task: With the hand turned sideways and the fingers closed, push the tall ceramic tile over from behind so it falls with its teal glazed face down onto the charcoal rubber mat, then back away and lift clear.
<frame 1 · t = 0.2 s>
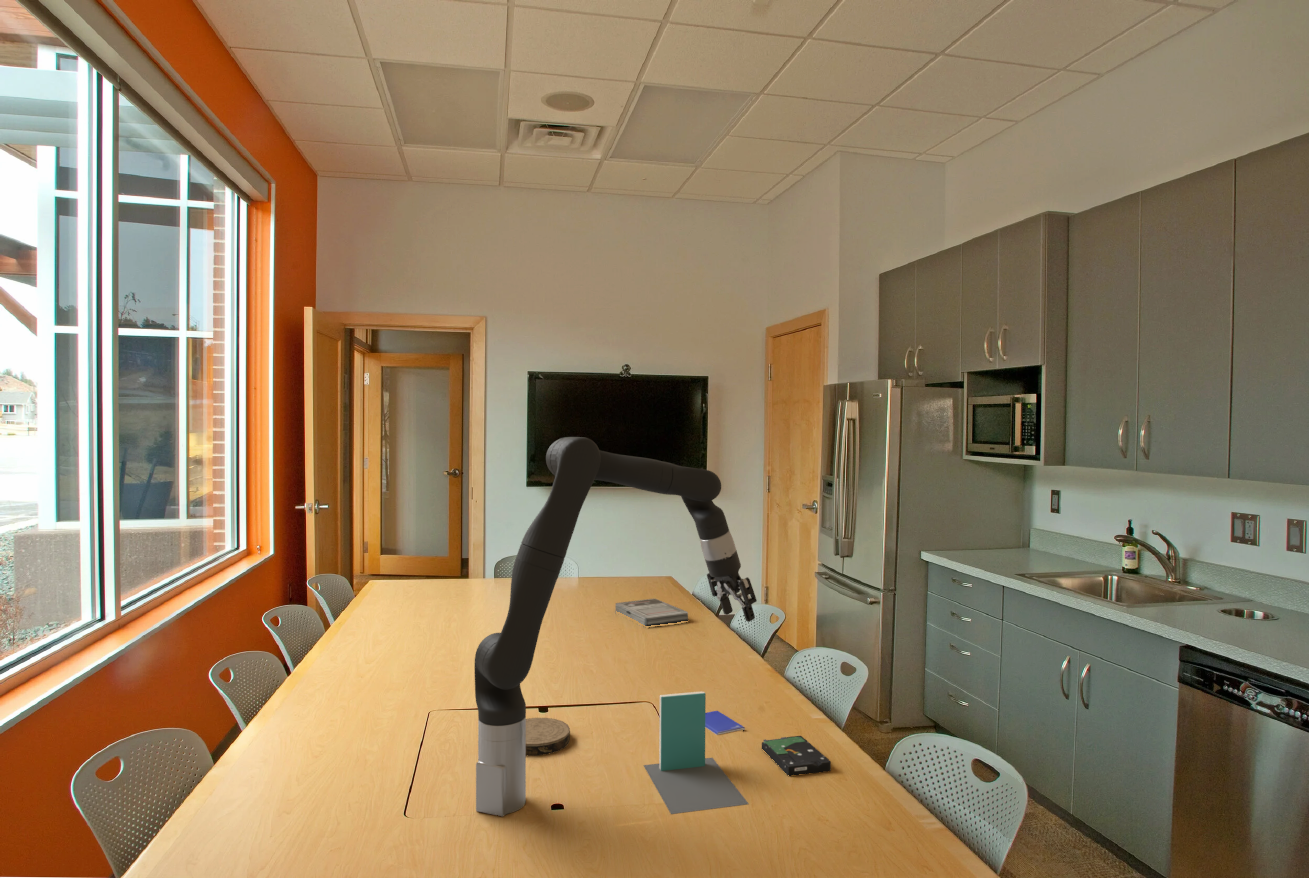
hand: (739, 616, 179), 31 cm above the table, tool tilted 20°, fingers open, 8 cm apart
tile: (682, 767, 169), resting on mat
hard drive: (717, 727, 194), on the table
hard drive 2: (650, 619, 302), on the table
disk drive: (795, 762, 174), on the table
mat: (693, 785, 161), on the table
brown round disc: (536, 743, 183), on the table
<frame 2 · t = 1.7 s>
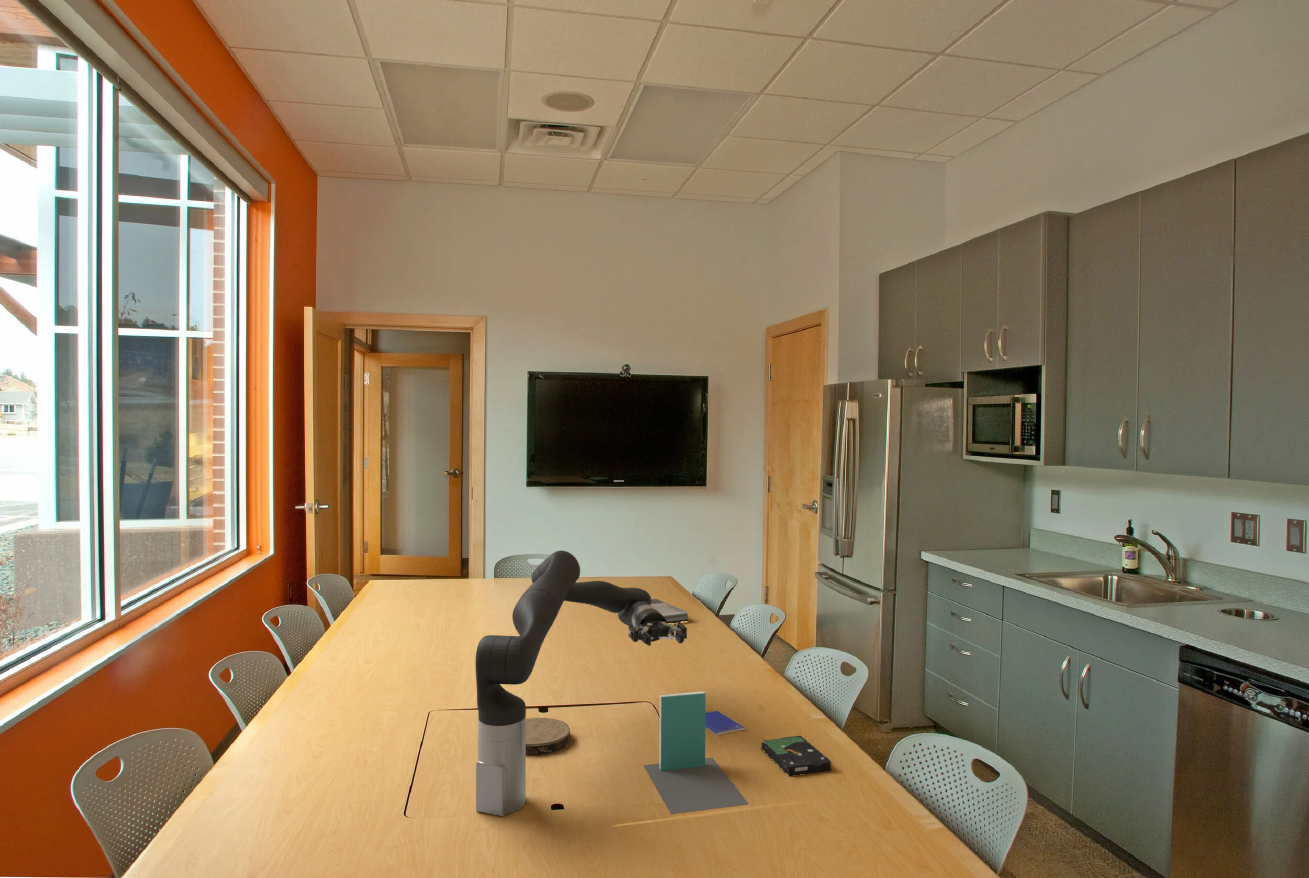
hand: (665, 640, 183), 24 cm above the table, tool horizontal, fingers open, 7 cm apart
nothing on the table moved.
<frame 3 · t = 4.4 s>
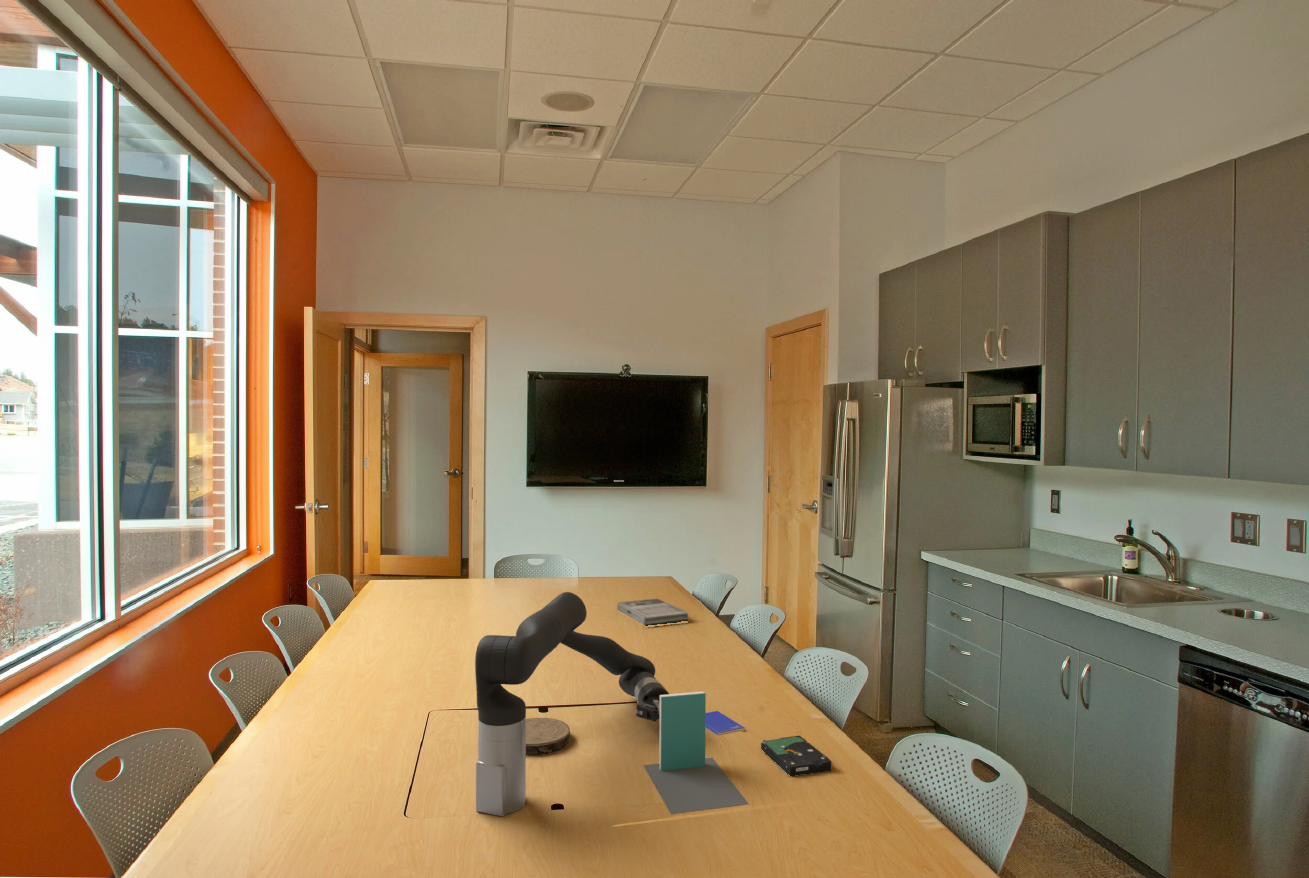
hand: (671, 722, 177), 7 cm above the table, tool horizontal, fingers closed
nothing on the table moved.
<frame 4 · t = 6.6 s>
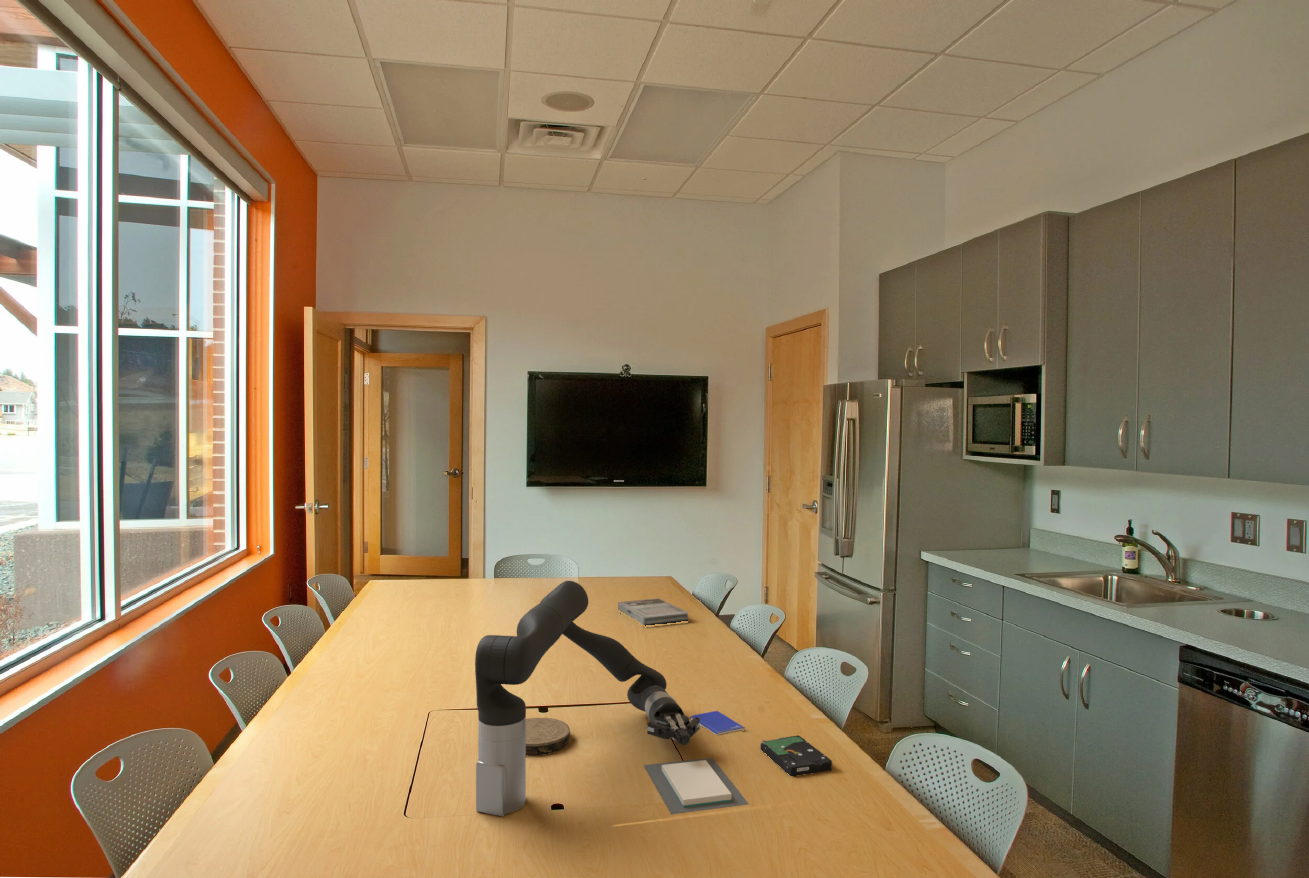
hand: (685, 741, 167), 7 cm above the table, tool horizontal, fingers closed
tile: (683, 766, 168), point 1 cm above the table, tilted 90°, touching mat
everything else where it was.
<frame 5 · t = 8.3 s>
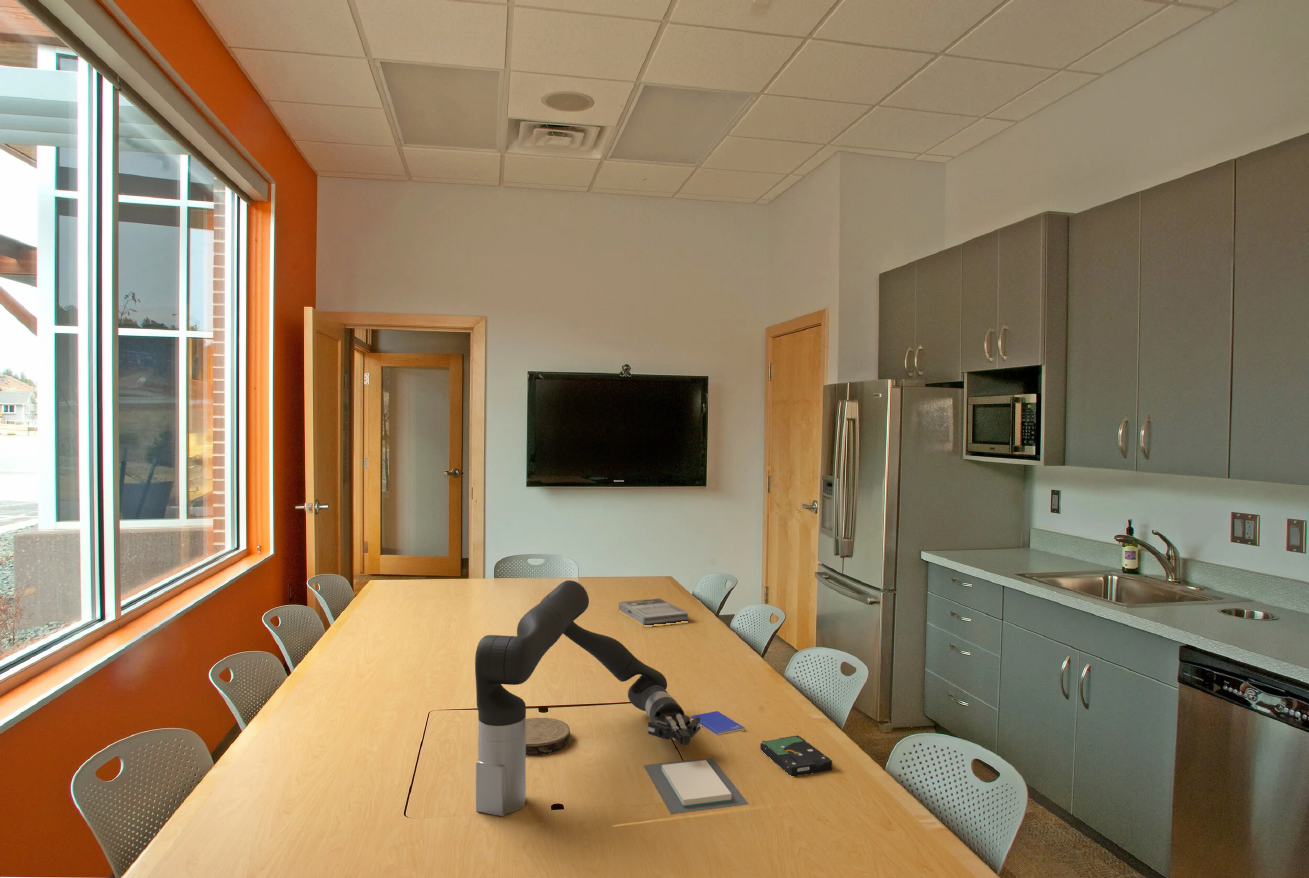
hand: (685, 741, 167), 7 cm above the table, tool horizontal, fingers closed
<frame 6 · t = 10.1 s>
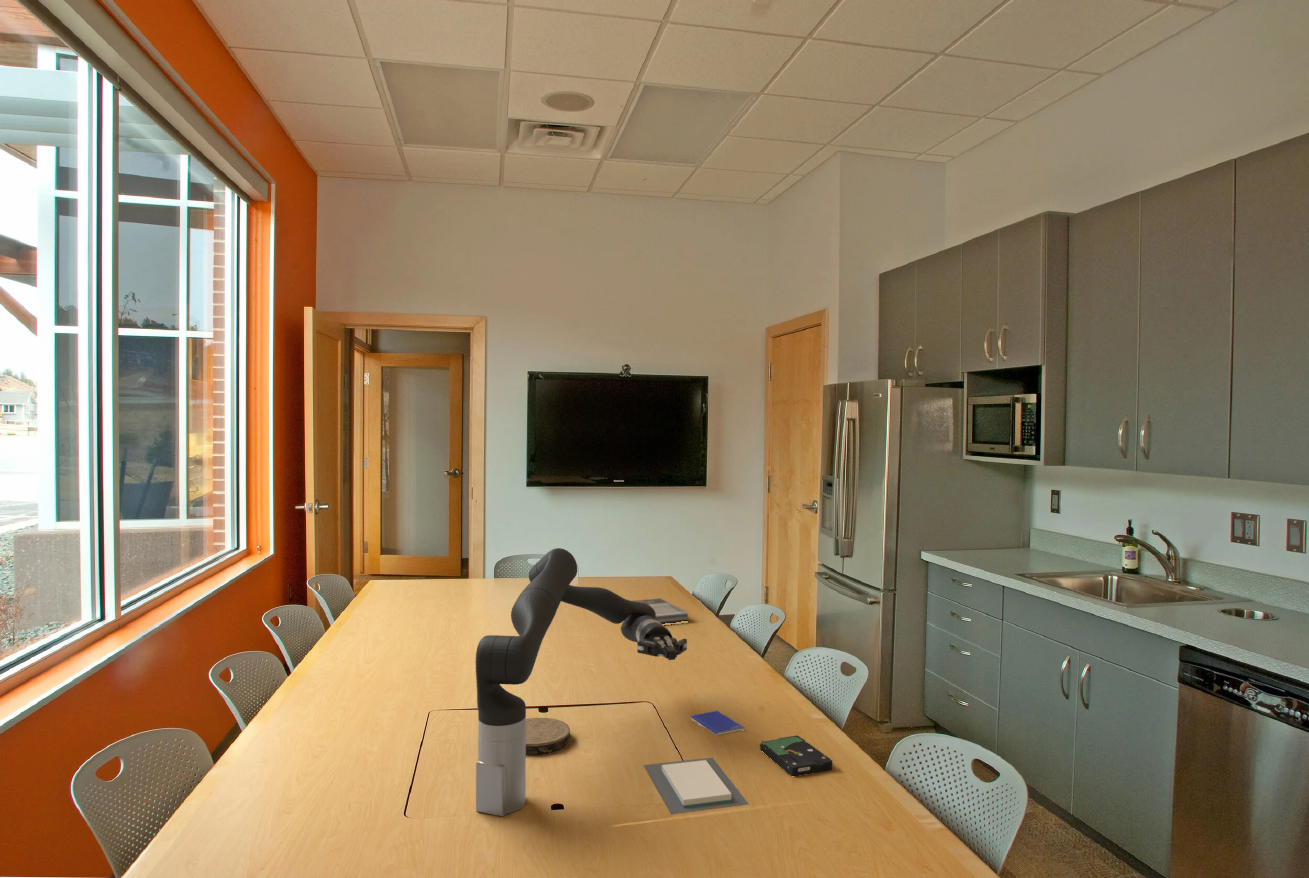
hand: (672, 655, 177), 22 cm above the table, tool horizontal, fingers closed
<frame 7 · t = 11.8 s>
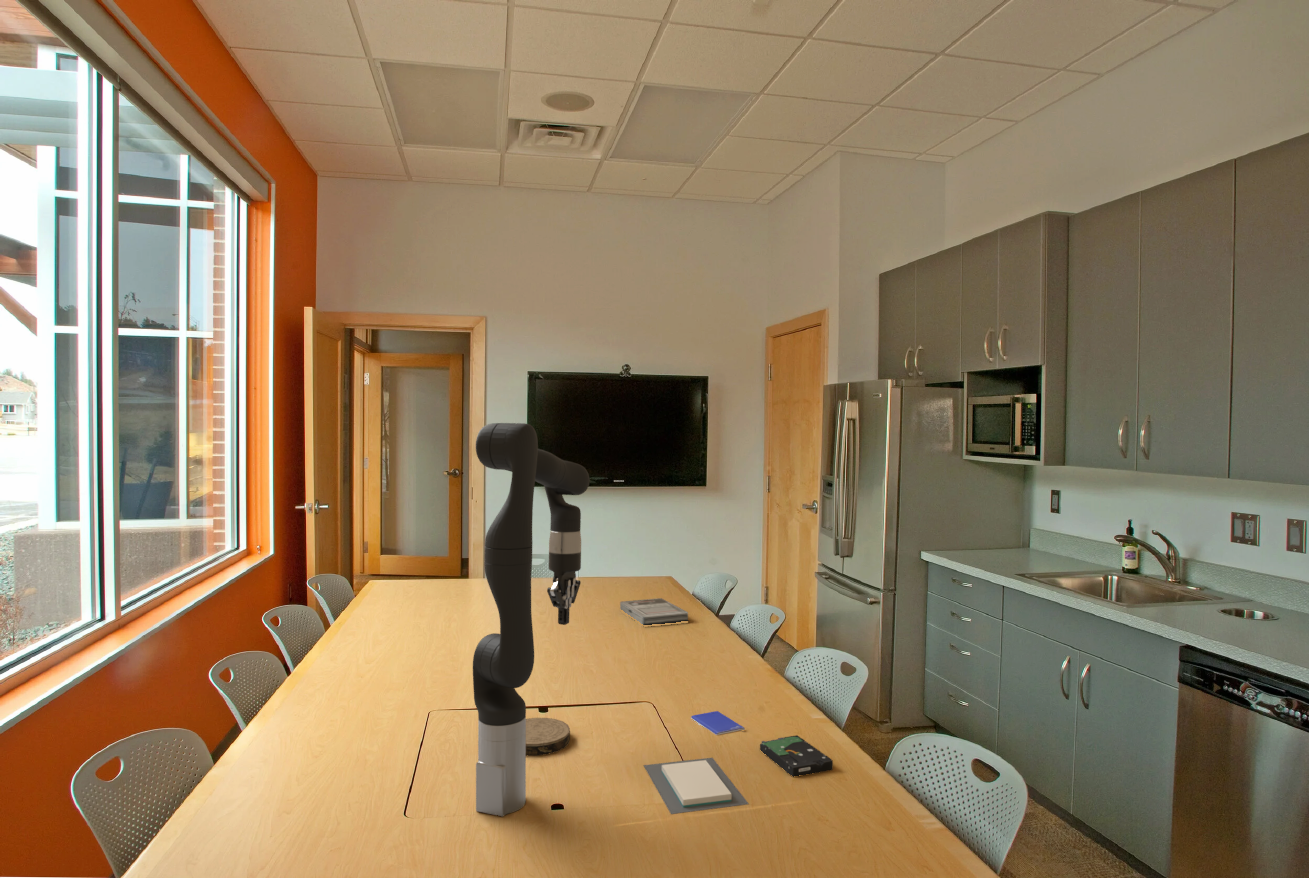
hand: (563, 623, 181), 28 cm above the table, tool pointing down, fingers closed
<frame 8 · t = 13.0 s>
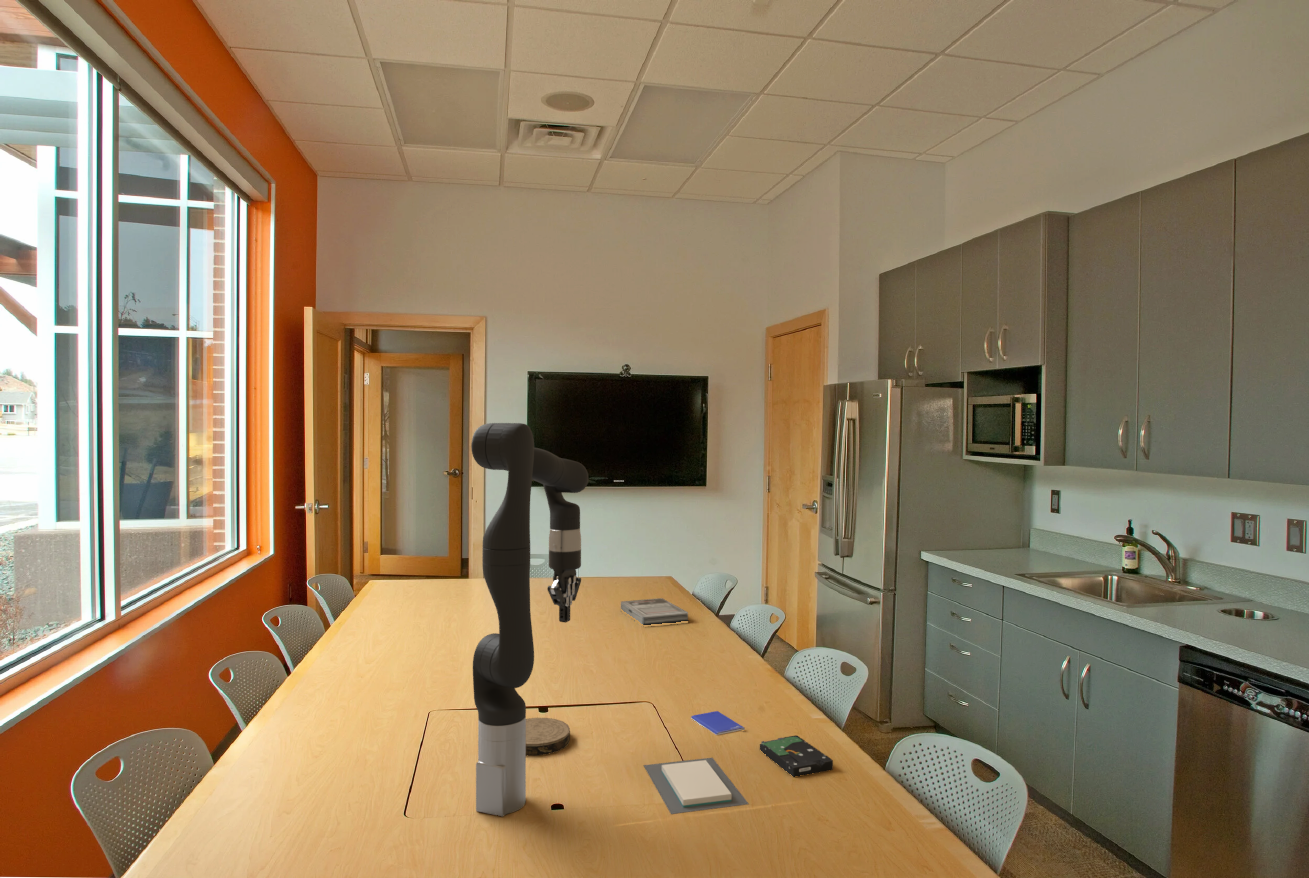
hand: (564, 621, 181), 29 cm above the table, tool pointing down, fingers closed
at the end: tile tilted 90°; tile inside the target area on the mat (3.2 cm from its centre), point 1.1 cm above the mat's base; tile touching mat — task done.
